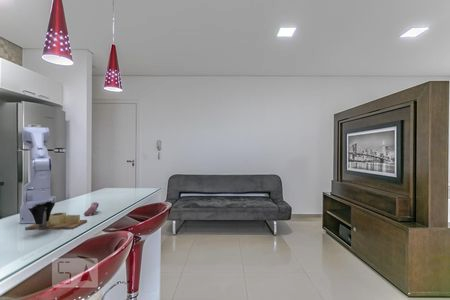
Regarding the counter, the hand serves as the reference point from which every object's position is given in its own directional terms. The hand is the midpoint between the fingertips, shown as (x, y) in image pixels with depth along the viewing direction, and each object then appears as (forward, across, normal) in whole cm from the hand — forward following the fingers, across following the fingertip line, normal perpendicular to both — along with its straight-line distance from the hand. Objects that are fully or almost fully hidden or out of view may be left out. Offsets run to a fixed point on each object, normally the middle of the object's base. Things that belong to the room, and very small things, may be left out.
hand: (42, 222), depth 104 cm
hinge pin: (+2, 0, 0) cm, 2 cm away
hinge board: (+4, +11, +1) cm, 12 cm away
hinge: (+4, +11, +1) cm, 12 cm away
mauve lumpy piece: (+5, +33, -3) cm, 33 cm away
